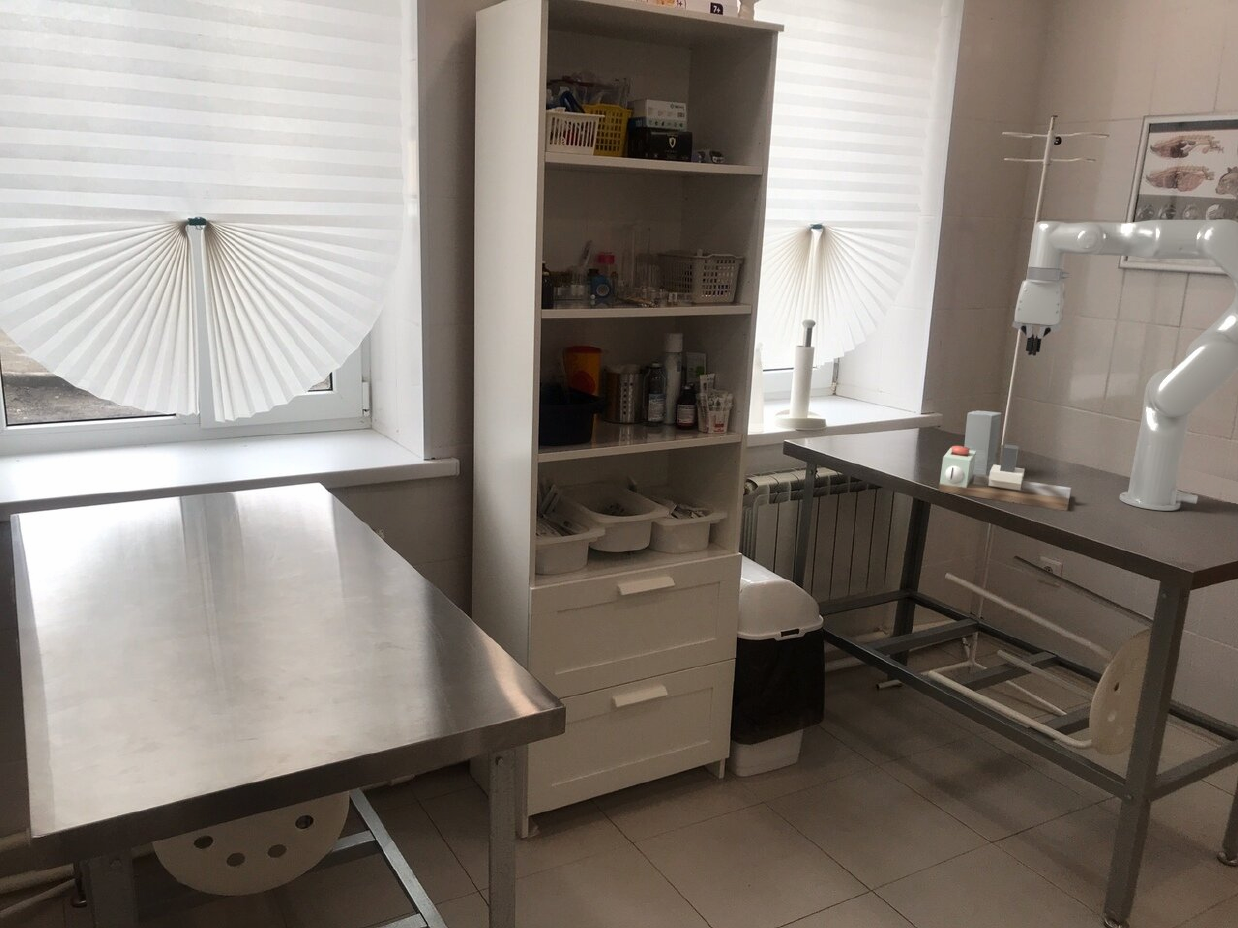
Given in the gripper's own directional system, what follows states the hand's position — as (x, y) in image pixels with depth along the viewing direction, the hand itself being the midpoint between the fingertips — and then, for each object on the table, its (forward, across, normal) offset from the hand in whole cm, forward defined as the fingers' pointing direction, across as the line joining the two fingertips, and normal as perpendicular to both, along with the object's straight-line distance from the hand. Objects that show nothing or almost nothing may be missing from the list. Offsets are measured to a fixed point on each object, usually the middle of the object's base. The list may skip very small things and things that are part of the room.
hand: (1032, 354), depth 234 cm
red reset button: (+26, +12, +10) cm, 30 cm away
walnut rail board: (+32, +1, +10) cm, 34 cm away
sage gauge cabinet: (+31, +12, +10) cm, 34 cm away
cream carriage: (+30, +1, +10) cm, 32 cm away
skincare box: (+32, +9, -8) cm, 34 cm away
